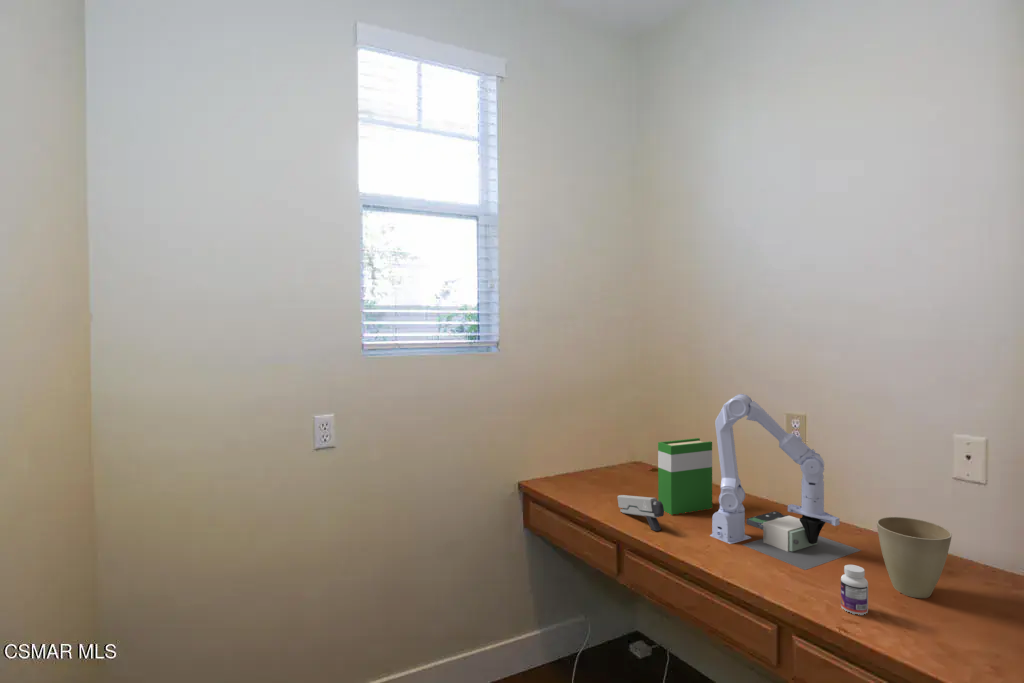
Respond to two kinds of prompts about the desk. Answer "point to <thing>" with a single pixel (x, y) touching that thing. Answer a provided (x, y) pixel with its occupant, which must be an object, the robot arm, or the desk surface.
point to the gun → (642, 508)
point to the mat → (806, 552)
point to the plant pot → (913, 553)
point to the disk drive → (763, 519)
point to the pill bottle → (854, 590)
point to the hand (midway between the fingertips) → (812, 542)
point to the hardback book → (685, 475)
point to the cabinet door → (798, 540)
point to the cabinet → (780, 531)
